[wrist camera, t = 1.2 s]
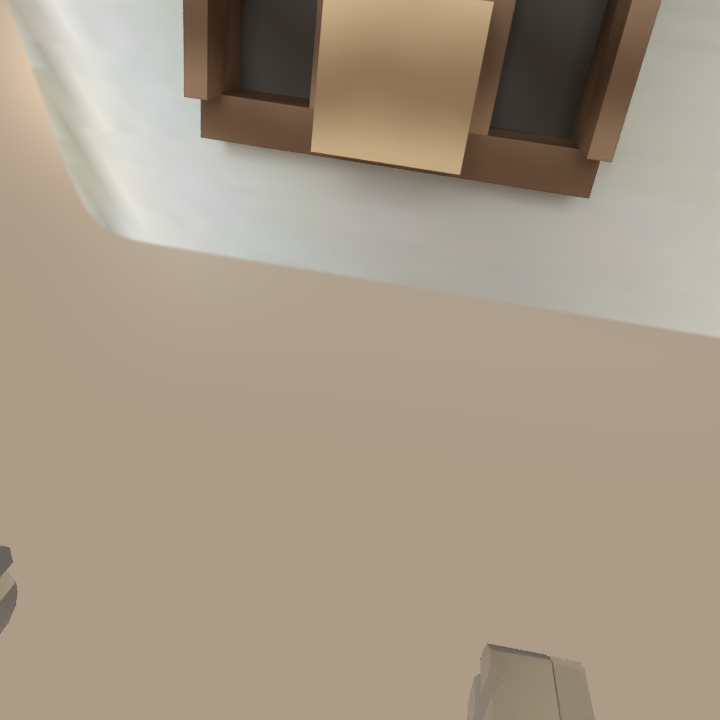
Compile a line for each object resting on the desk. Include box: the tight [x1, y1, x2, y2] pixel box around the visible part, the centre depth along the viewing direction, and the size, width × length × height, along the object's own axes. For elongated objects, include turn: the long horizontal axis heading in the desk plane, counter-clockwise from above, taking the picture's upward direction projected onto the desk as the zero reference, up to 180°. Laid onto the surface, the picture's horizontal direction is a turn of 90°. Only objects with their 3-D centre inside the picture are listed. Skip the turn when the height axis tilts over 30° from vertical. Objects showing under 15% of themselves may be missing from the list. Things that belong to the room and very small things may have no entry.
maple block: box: [311, 0, 494, 175], centre depth 26 cm, size 6×6×4 cm
